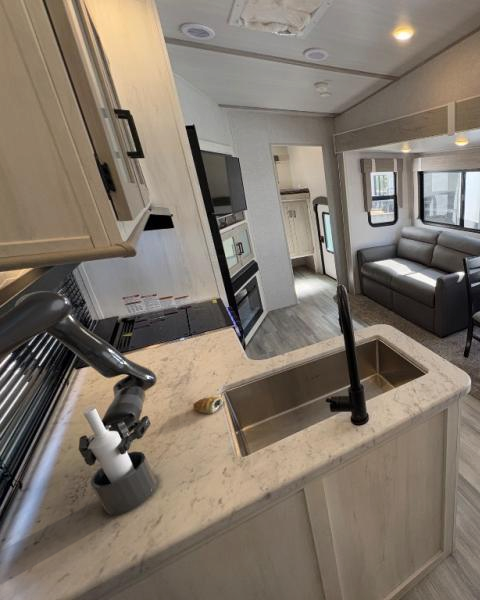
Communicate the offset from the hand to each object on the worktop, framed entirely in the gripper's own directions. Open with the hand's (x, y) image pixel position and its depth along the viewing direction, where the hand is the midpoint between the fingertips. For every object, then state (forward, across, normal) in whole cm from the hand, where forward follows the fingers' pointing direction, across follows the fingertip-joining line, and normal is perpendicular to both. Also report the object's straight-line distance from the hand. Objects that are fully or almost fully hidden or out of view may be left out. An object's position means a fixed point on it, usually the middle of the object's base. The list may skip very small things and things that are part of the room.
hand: (106, 456), depth 71 cm
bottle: (-3, 0, +14) cm, 14 cm away
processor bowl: (-2, 0, +15) cm, 15 cm away
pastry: (-30, +17, +16) cm, 38 cm away
